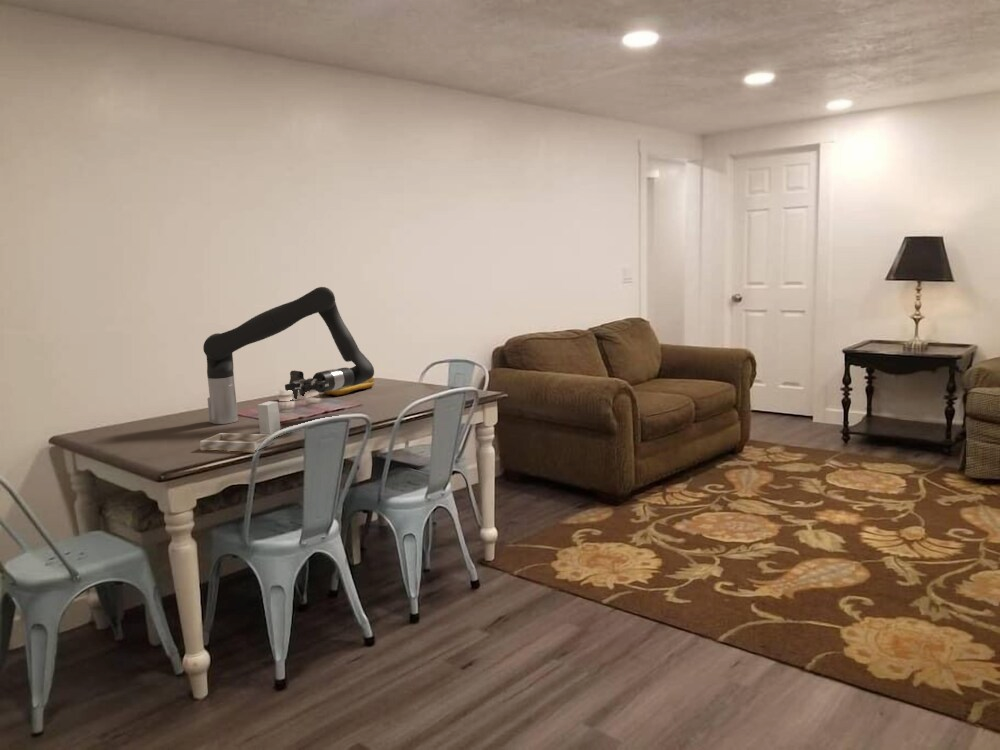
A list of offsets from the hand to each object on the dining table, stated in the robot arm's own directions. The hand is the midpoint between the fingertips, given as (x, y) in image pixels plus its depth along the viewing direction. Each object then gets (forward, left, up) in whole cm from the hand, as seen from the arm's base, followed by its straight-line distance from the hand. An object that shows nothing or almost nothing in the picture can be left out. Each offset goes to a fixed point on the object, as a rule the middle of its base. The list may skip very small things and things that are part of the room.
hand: (293, 388), depth 262 cm
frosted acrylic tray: (-8, -24, -15) cm, 29 cm away
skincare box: (-4, -11, -15) cm, 19 cm away
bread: (-16, +71, -15) cm, 75 cm away
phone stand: (-31, +54, -15) cm, 64 cm away
